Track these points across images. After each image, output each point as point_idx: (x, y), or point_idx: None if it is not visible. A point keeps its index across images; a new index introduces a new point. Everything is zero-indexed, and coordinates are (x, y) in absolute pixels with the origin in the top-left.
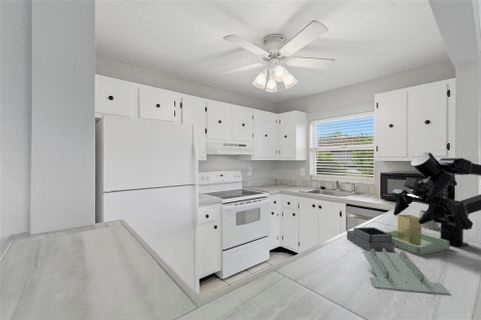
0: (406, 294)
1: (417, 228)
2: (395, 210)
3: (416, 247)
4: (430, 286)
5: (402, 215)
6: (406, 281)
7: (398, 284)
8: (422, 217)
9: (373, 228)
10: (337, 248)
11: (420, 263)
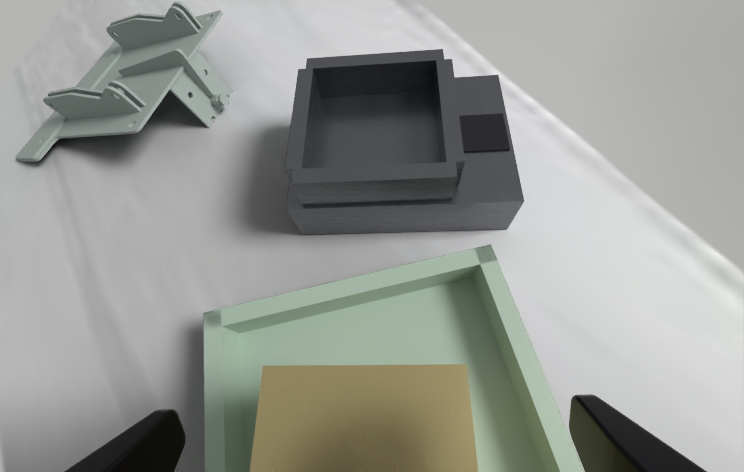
0: (82, 67)
1: None
2: (628, 442)
3: (220, 310)
4: (51, 126)
5: (431, 417)
6: (93, 81)
7: (103, 62)
8: (84, 468)
9: (444, 164)
10: (373, 37)
11: (170, 251)
